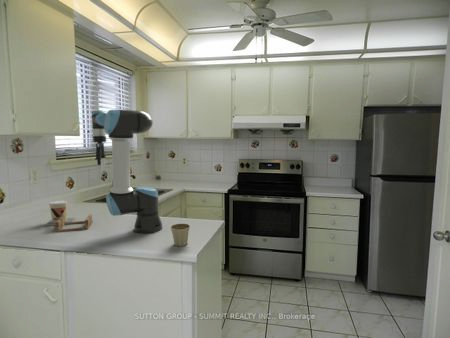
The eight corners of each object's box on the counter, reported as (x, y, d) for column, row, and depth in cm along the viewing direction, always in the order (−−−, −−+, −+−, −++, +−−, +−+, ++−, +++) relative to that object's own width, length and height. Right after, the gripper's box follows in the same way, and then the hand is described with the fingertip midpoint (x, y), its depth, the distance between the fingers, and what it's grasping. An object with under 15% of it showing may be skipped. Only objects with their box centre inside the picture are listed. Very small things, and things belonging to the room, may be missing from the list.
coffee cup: (49, 224, 173) (48, 204, 171) (52, 220, 181) (50, 201, 180) (67, 222, 176) (66, 202, 175) (69, 218, 185) (67, 199, 183)
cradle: (88, 229, 165) (87, 220, 164) (55, 232, 161) (54, 223, 160) (92, 221, 179) (92, 213, 179) (62, 224, 175) (62, 216, 175)
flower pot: (179, 249, 135) (178, 230, 134) (166, 244, 141) (166, 226, 140) (194, 243, 142) (194, 226, 141) (181, 239, 148) (181, 222, 147)
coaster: (68, 224, 174) (68, 223, 174) (44, 226, 171) (44, 225, 171) (74, 218, 187) (74, 217, 187) (51, 220, 183) (51, 219, 183)
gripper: (102, 135, 175) (104, 171, 178) (108, 135, 199) (110, 166, 202) (89, 135, 174) (91, 171, 176) (96, 135, 198) (98, 167, 200)
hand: (101, 169), depth 189 cm, fingers open, 13 cm apart
